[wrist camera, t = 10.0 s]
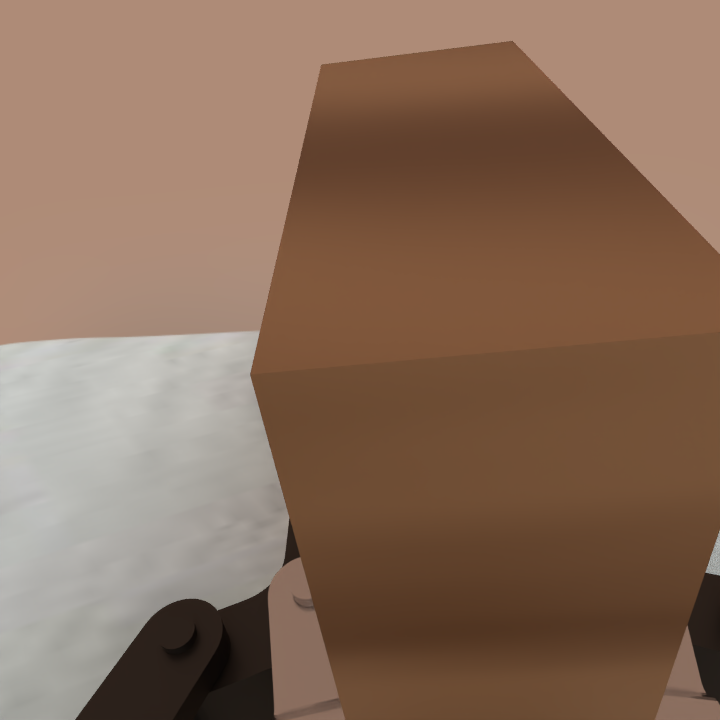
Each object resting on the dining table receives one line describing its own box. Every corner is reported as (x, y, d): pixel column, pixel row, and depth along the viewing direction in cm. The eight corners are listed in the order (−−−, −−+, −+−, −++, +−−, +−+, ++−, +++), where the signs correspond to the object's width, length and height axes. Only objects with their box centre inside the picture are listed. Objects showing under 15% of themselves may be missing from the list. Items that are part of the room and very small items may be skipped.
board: (566, 980, 13) (790, 325, 3) (417, 984, 13) (249, 373, 4) (498, 618, 19) (512, 41, 10) (399, 623, 20) (321, 64, 10)
